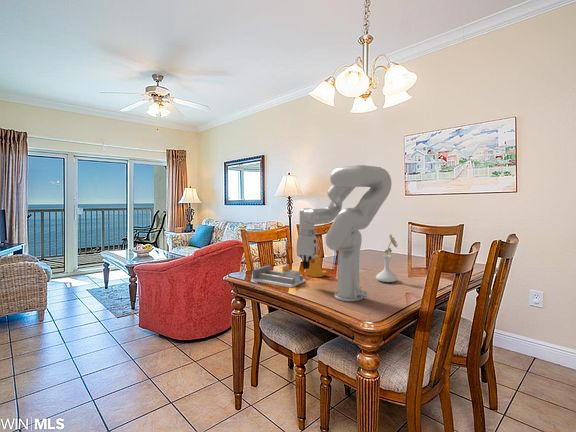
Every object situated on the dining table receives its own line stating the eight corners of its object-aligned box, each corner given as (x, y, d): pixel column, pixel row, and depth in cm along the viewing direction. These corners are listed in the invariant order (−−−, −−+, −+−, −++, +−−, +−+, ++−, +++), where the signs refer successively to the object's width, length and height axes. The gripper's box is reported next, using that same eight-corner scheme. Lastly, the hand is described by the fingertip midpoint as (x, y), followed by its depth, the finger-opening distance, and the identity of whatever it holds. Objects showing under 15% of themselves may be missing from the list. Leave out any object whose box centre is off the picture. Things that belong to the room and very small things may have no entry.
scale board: (305, 281, 168) (305, 270, 167) (290, 287, 156) (290, 275, 156) (268, 275, 182) (268, 265, 182) (252, 280, 170) (252, 269, 170)
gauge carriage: (303, 279, 167) (302, 265, 166) (291, 284, 158) (291, 269, 157) (290, 277, 171) (290, 264, 171) (278, 281, 162) (278, 267, 162)
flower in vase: (390, 285, 159) (390, 236, 158) (371, 280, 168) (371, 234, 167) (403, 280, 167) (404, 234, 166) (385, 276, 176) (385, 232, 175)
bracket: (327, 275, 180) (327, 255, 180) (320, 278, 175) (320, 257, 174) (312, 273, 187) (312, 253, 187) (305, 275, 182) (305, 255, 181)
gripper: (323, 233, 157) (322, 269, 158) (298, 230, 165) (297, 265, 166) (316, 234, 150) (315, 272, 152) (290, 232, 159) (289, 267, 160)
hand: (306, 268), depth 159 cm, fingers closed
